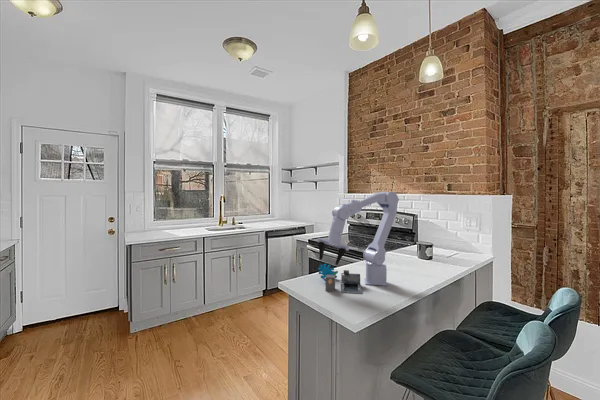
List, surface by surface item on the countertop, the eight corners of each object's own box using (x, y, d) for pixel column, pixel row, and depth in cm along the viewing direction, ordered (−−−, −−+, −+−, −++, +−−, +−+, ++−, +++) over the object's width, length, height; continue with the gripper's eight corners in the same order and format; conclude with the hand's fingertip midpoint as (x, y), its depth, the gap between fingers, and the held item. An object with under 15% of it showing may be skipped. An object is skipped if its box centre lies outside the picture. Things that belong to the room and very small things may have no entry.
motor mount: (360, 284, 133) (360, 270, 133) (361, 293, 122) (362, 277, 121) (340, 283, 135) (340, 269, 135) (340, 292, 123) (340, 276, 123)
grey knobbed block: (334, 288, 128) (335, 275, 128) (334, 292, 123) (334, 278, 123) (326, 287, 129) (326, 274, 129) (325, 291, 124) (325, 278, 123)
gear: (322, 281, 133) (317, 262, 140) (316, 287, 137) (311, 268, 143) (342, 281, 138) (336, 263, 145) (336, 287, 142) (330, 269, 148)
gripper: (318, 227, 128) (310, 257, 127) (349, 236, 122) (342, 267, 122) (322, 228, 134) (315, 257, 134) (352, 236, 129) (345, 266, 128)
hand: (328, 262), depth 128 cm, fingers open, 7 cm apart
